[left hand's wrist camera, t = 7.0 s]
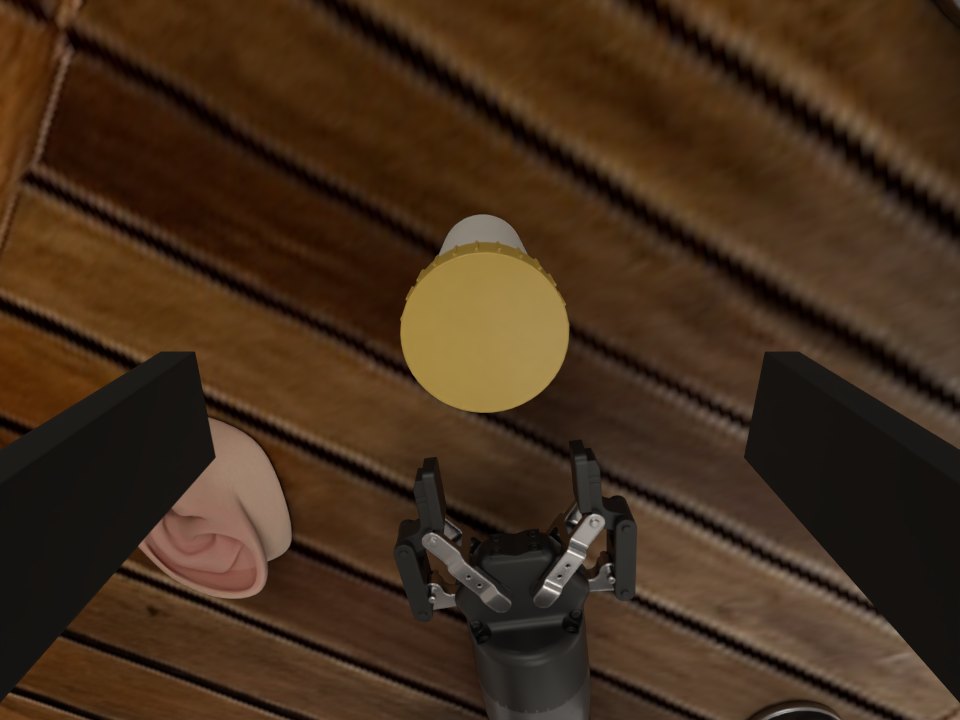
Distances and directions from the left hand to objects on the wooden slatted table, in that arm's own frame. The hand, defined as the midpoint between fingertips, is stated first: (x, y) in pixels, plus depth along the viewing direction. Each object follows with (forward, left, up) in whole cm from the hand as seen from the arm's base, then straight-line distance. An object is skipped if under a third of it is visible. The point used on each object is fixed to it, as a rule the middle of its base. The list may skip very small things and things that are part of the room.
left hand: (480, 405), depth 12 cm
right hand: (-6, +9, -15) cm, 19 cm away
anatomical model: (+9, +24, -22) cm, 34 cm away
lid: (0, 0, -6) cm, 6 cm away
